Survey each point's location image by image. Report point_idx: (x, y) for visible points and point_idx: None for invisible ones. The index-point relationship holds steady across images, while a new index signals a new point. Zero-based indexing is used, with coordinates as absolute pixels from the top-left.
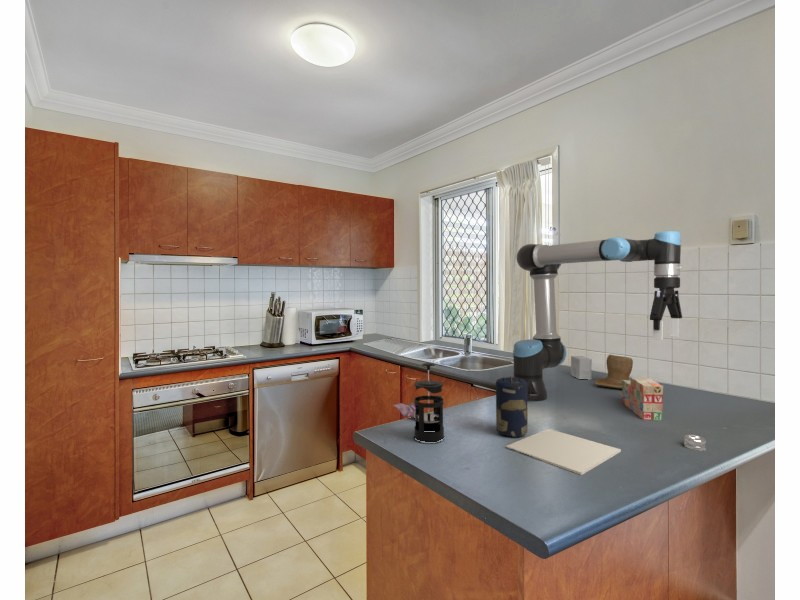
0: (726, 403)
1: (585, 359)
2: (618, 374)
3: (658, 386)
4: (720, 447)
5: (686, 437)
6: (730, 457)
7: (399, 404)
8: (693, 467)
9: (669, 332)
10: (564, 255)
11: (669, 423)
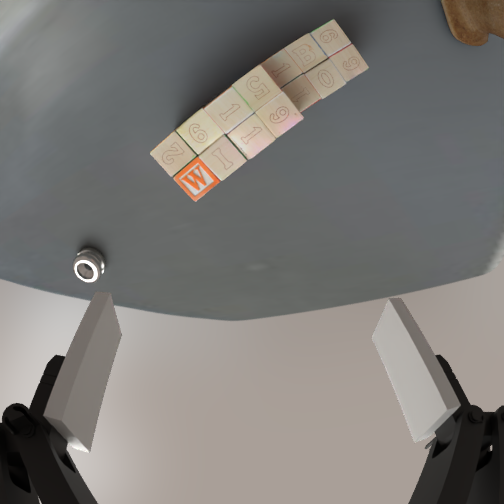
0: (454, 230)
1: None
2: (476, 5)
3: (185, 189)
4: (127, 285)
5: (74, 262)
6: None
7: None
8: (28, 278)
9: (399, 318)
10: None
11: None
